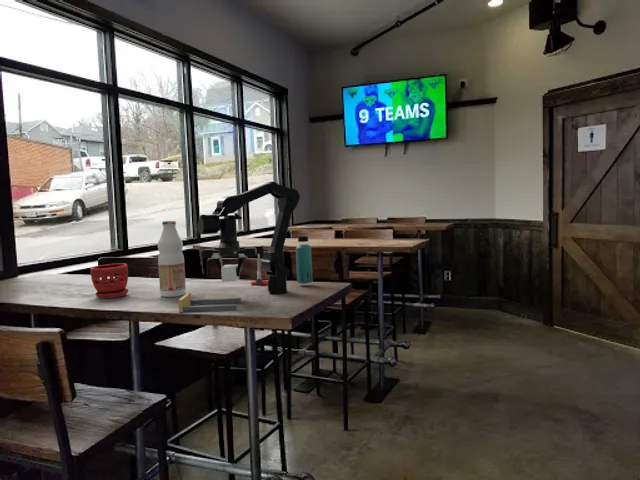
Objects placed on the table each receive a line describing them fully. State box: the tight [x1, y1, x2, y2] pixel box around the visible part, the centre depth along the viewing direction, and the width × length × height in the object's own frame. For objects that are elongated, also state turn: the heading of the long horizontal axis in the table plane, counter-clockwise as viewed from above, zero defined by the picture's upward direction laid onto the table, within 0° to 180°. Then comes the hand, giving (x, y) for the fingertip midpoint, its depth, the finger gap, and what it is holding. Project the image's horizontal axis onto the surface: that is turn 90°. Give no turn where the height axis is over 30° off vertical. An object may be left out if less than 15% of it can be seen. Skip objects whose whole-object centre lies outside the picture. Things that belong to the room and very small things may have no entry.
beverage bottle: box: [295, 235, 314, 285], centre depth 200 cm, size 6×7×20 cm
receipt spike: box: [250, 253, 269, 286], centre depth 210 cm, size 8×13×9 cm
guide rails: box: [178, 292, 242, 313], centre depth 166 cm, size 18×12×4 cm
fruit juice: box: [157, 220, 187, 298], centre depth 189 cm, size 9×9×28 cm
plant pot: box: [89, 262, 129, 299], centre depth 191 cm, size 13×13×12 cm
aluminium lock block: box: [220, 263, 240, 283], centre depth 177 cm, size 5×7×5 cm
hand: (230, 276), depth 177 cm, fingers closed on aluminium lock block, 5 cm apart
